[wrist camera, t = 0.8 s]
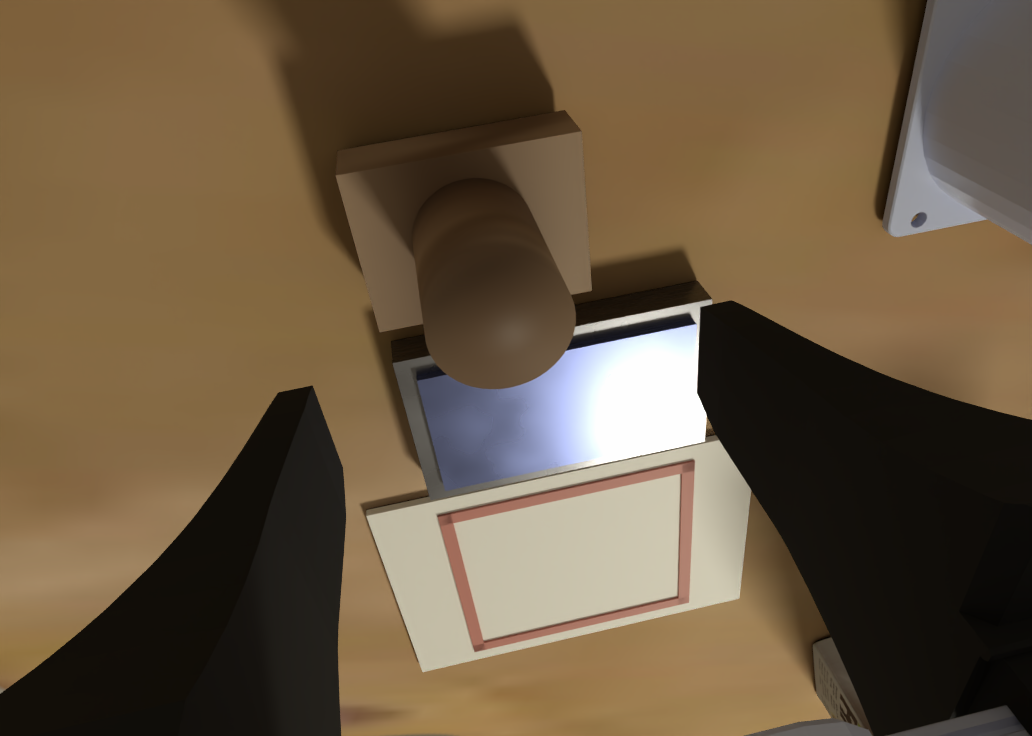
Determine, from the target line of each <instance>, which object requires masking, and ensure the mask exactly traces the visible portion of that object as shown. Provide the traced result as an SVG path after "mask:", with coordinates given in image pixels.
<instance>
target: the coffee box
mask: <svg viewBox="0 0 1032 736" xmlns="http://www.w3.org/2000/svg"><path fill="white" fill-rule="evenodd" d="M813 657H814V671H815V682H816V692H817V696H818V697H819V699H820V700H821V701H822V703H823V704H824V706H825V708H826V709H827V711H828V713H829V714H830V716H831V718H835V719H838V720H841V721H844V722H847V723H850V724H853V725H856V726H859V727H862V728H865V729H868V730H869V731H870V733H871V735H872V736H874V735H873V733H872V730H871V728H870V725H869V723H868V720H867V718H866V716H865V713H864V711H863V708H862V706H861V703H860V701H859V698H858V696H857V694H856V691H855V689H854V687H853V685H852V682H851V680H850V678H849V676H848V673H847V671H846V669H845V666H844V664H843V662H842V660H841V657H840V655H839V653H838V651H837V648H836V646H835V644H834V642H833V639H832V637H830V638H827V639H824V640H821V641H818V642H816V643H814V644H813Z"/></svg>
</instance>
